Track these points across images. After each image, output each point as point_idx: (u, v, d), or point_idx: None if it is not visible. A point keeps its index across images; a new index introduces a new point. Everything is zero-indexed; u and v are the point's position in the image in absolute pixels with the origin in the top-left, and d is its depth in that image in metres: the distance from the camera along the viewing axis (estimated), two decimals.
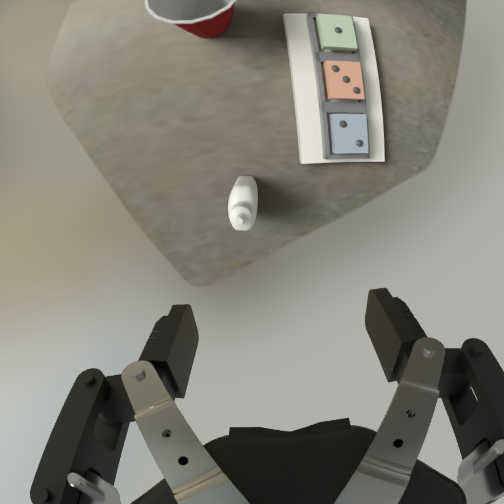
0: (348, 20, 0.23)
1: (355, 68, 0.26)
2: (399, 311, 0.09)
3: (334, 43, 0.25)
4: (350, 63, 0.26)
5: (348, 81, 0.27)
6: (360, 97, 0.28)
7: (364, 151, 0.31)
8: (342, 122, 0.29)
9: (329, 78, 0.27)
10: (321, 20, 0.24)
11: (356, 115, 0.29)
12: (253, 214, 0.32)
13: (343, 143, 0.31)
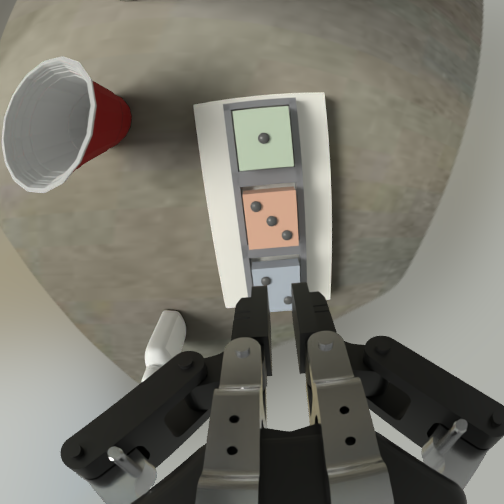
0: (282, 115, 0.20)
1: (288, 201, 0.23)
2: (310, 304, 0.11)
3: (256, 163, 0.22)
4: (280, 194, 0.23)
5: (275, 223, 0.24)
6: (292, 244, 0.24)
7: None
8: (265, 278, 0.26)
9: (247, 222, 0.24)
10: (238, 123, 0.20)
11: (285, 268, 0.25)
12: None
13: None
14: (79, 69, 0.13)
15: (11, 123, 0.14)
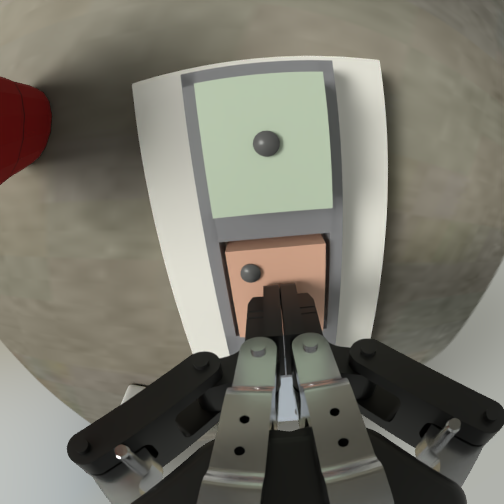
0: (310, 92, 0.08)
1: (310, 264, 0.12)
2: (297, 306, 0.11)
3: (250, 202, 0.10)
4: (296, 251, 0.12)
5: None
6: None
7: None
8: None
9: (235, 298, 0.13)
10: (207, 109, 0.08)
11: None
12: None
13: None
14: None
15: None
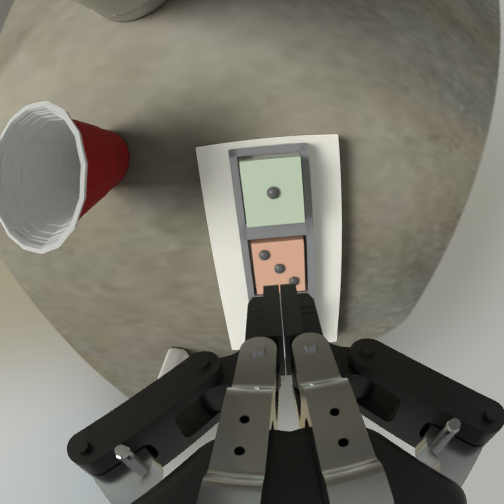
0: (293, 167, 0.19)
1: (295, 250, 0.24)
2: (297, 306, 0.11)
3: (265, 219, 0.21)
4: (288, 243, 0.23)
5: (283, 270, 0.24)
6: (299, 289, 0.25)
7: None
8: None
9: (255, 269, 0.24)
10: (245, 175, 0.20)
11: None
12: None
13: None
14: (65, 119, 0.12)
15: (0, 171, 0.14)
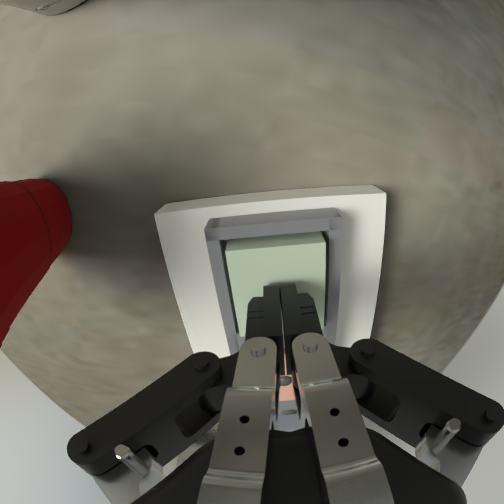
0: (314, 259, 0.12)
1: None
2: (297, 306, 0.11)
3: None
4: None
5: (289, 382, 0.16)
6: None
7: None
8: None
9: None
10: (236, 271, 0.13)
11: None
12: None
13: None
14: None
15: None
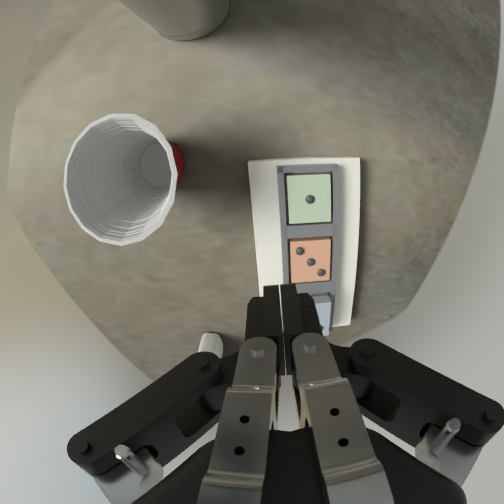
0: (325, 181, 0.27)
1: (324, 248, 0.29)
2: (297, 306, 0.11)
3: (303, 218, 0.28)
4: (318, 242, 0.29)
5: (313, 264, 0.30)
6: (324, 279, 0.31)
7: (324, 334, 0.32)
8: None
9: (292, 262, 0.30)
10: (290, 186, 0.27)
11: (319, 304, 0.31)
12: None
13: None
14: (157, 133, 0.18)
15: (73, 170, 0.20)
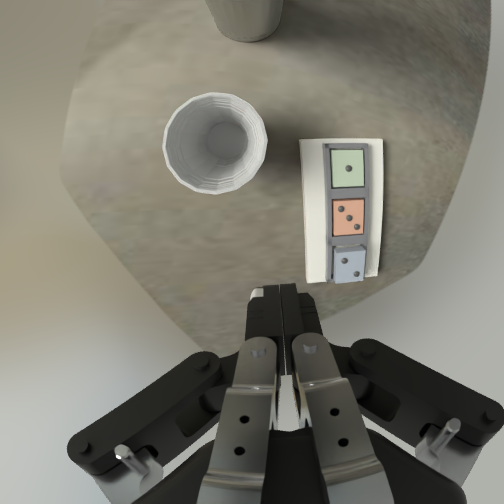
0: (359, 155, 0.33)
1: (359, 206, 0.36)
2: (297, 306, 0.11)
3: (343, 183, 0.35)
4: (355, 202, 0.36)
5: (351, 219, 0.37)
6: (359, 232, 0.38)
7: (359, 279, 0.39)
8: (344, 259, 0.38)
9: (335, 218, 0.37)
10: (334, 158, 0.34)
11: (357, 252, 0.38)
12: None
13: (342, 275, 0.39)
14: (251, 110, 0.25)
15: (171, 134, 0.26)
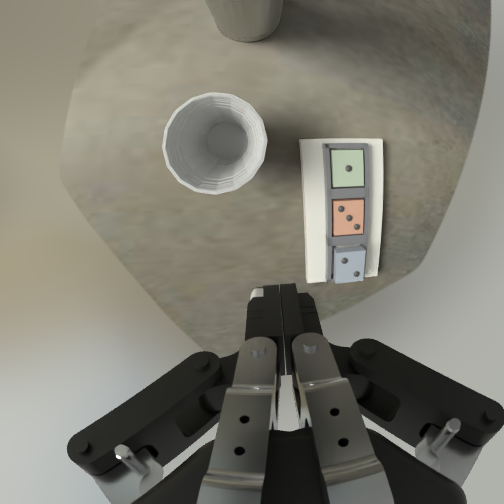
0: (359, 155, 0.33)
1: (359, 206, 0.36)
2: (297, 306, 0.11)
3: (343, 183, 0.35)
4: (355, 202, 0.36)
5: (351, 219, 0.37)
6: (359, 232, 0.38)
7: (359, 279, 0.39)
8: (344, 259, 0.38)
9: (335, 218, 0.37)
10: (334, 158, 0.34)
11: (357, 252, 0.38)
12: None
13: (342, 275, 0.39)
14: (251, 110, 0.25)
15: (170, 134, 0.26)
